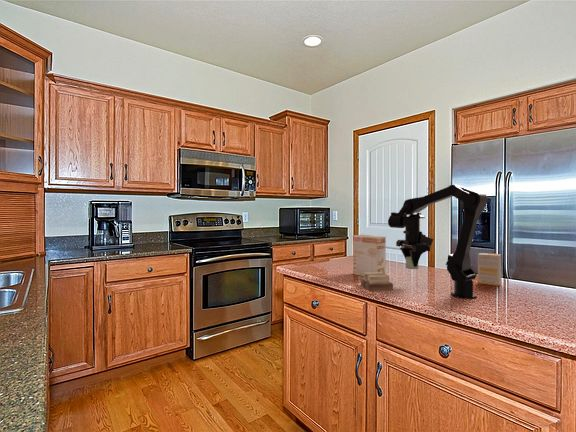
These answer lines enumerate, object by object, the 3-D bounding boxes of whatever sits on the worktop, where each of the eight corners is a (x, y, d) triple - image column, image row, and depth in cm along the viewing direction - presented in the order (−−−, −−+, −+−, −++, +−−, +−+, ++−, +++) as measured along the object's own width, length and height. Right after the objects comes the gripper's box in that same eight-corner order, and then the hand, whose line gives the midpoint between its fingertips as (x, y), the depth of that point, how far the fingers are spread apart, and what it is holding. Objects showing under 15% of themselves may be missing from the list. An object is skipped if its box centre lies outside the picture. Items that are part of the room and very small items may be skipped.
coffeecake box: (386, 277, 159) (386, 236, 158) (376, 279, 155) (376, 237, 154) (362, 272, 171) (362, 234, 171) (352, 274, 167) (352, 235, 167)
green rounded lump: (420, 269, 140) (420, 258, 140) (409, 269, 140) (409, 258, 140) (414, 266, 145) (414, 256, 145) (403, 267, 145) (403, 256, 144)
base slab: (392, 291, 136) (393, 283, 136) (369, 292, 135) (369, 284, 135) (383, 285, 146) (383, 278, 146) (360, 286, 145) (360, 279, 145)
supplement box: (501, 284, 144) (502, 254, 143) (499, 286, 140) (499, 255, 140) (480, 281, 149) (480, 252, 149) (477, 283, 146) (477, 253, 145)
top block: (389, 283, 137) (389, 276, 137) (370, 284, 136) (370, 276, 136) (381, 279, 145) (381, 272, 145) (363, 279, 144) (363, 272, 144)
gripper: (443, 230, 134) (442, 269, 134) (419, 227, 152) (418, 261, 153) (416, 230, 132) (416, 270, 133) (395, 227, 151) (395, 261, 151)
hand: (412, 265), depth 142 cm, fingers closed on green rounded lump, 5 cm apart
